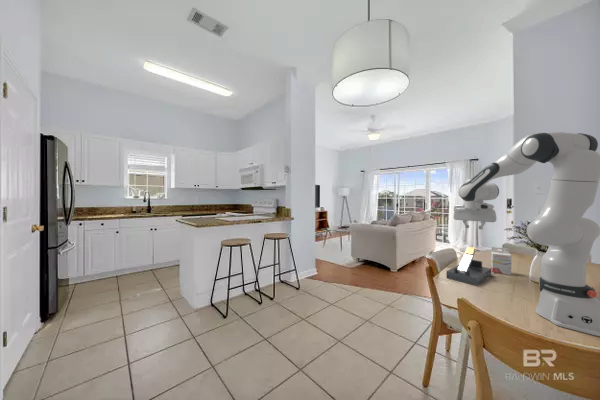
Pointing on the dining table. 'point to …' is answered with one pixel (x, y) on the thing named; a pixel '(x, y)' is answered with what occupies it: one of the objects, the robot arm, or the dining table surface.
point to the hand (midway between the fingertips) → (473, 228)
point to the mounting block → (470, 273)
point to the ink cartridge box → (501, 261)
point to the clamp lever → (466, 260)
